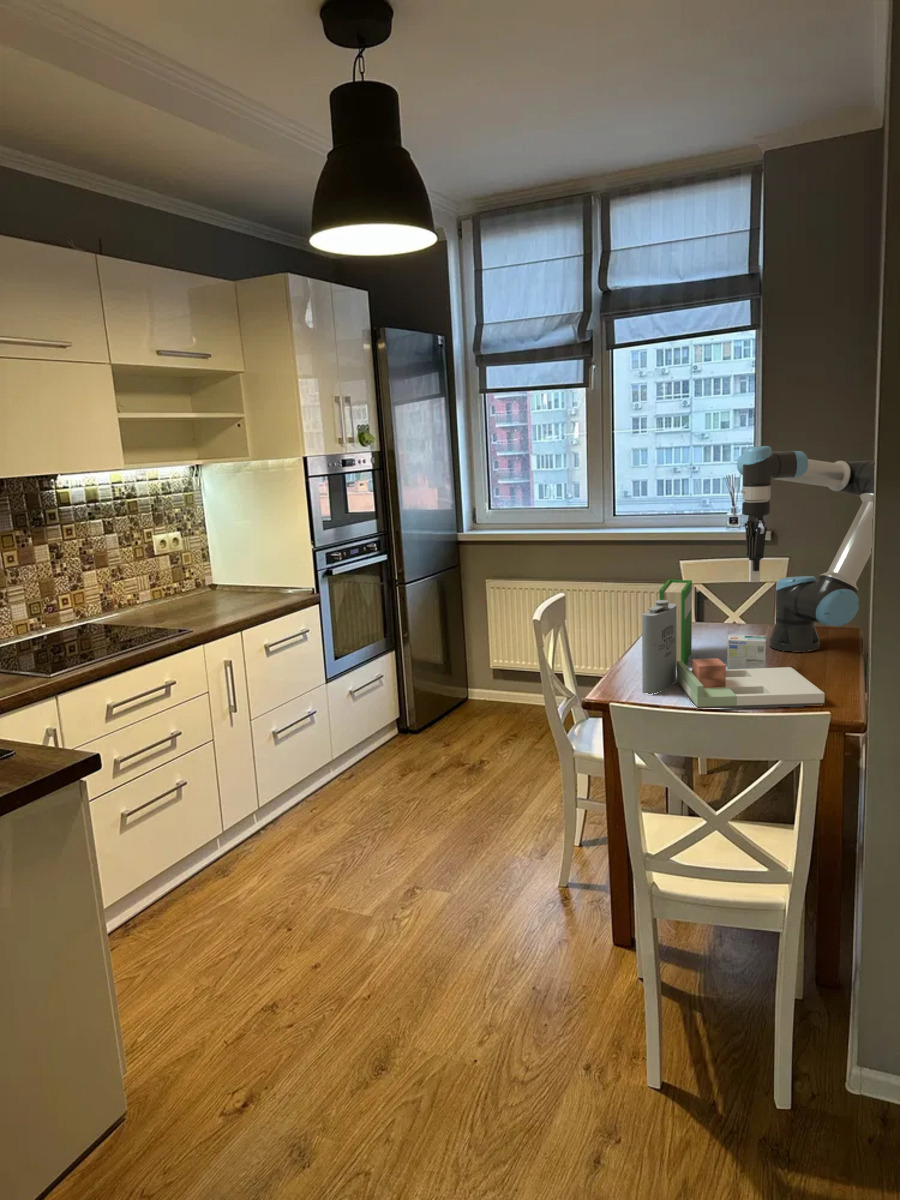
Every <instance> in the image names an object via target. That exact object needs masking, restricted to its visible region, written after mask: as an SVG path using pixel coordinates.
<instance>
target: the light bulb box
mask: <svg viewBox="0 0 900 1200" xmlns="http://www.w3.org/2000/svg"><path fill="white" fill-rule="evenodd" d="M753 668H767V640H766V635H758V634H757V635H753V634H751V635H750V634H749V635H748V634H728V636H727V669H753Z"/></svg>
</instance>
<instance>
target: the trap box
mask: <svg viewBox="0 0 900 1200" xmlns="http://www.w3.org/2000/svg"><path fill="white" fill-rule="evenodd" d="M676 684H677V685H678V686H679V688H680V690H681V691H682V692H683V694H685V696H686V698H687V699H688V698H689V699H688V700H689V702H690V703H691V702H692V703H693V704H694V705H695V706H696V707H697V708H758V709H779V708H778V707H790V708H805V707H804V706H810V705H820V704H824V705H825V695H826V693H825V692H824V691H823V690H821V688H820V689H819V687H817V686H816V685H814V684H813V683H812V682H811V681H809V680H808V679H807V678H805V677H804V676H803V675H802V674H801V673H799V672H798V671H797V670H796V669H794V668H792V666H791V667H789V666H785V667H766V668H753V669H728V668H726V687H715V688H703V685H702V684H701V683H700V681H699V680H698V679H697V678H696V677H695V675H694V674H693V673H692V670H691V669H690V668H689V667H688V666H687V664H686V665H685V664H684V662H683V661H677V665H676ZM692 703H691V704H692ZM693 704H692V705H693ZM694 705H693V706H694ZM696 711H700V710H699V709H696Z"/></svg>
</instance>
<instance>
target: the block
mask: <svg viewBox="0 0 900 1200" xmlns="http://www.w3.org/2000/svg"><path fill="white" fill-rule="evenodd" d="M726 669H727V665H726V664H725V663H724V662H723V661H722V660H721V659H720V658H716V657H715V658H714V657H713V658H696V659H695V658H693V659H691V671H692V673H693V674H694V675H695V677H696V678H697V679H698V680H699V681H700V683H701V684H702V685H703V688H715V687H726Z"/></svg>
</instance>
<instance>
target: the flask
mask: <svg viewBox="0 0 900 1200" xmlns="http://www.w3.org/2000/svg"><path fill="white" fill-rule="evenodd" d="M654 603H655V605H654V606H651V607H649V608H648V611H646V612H645V613H642V614H641V620H642V621H641V625H642V626H641V628H642V631H641V634H642V635H641V636H642V637H641V639H642V641H641V642H642V644H641V645H642V646H641V649H642V650H641V651H642V652H641V654H642V658H641V661H642V663H641V669H642V676H641V677H642V694H643V693H648V694H652V693H653V694H654V693H657V692H660V691H662V692H664V691H663V690H665V689H666V690H667V688H668V689H669V688H670V686H671V687H672V686H673V685H674V684H675V683H677V665H676V609H677V604H672V603H669V601H667V600H659V599H657V600H655V601H654ZM666 690H665V691H666ZM660 693H661V692H660Z"/></svg>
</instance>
